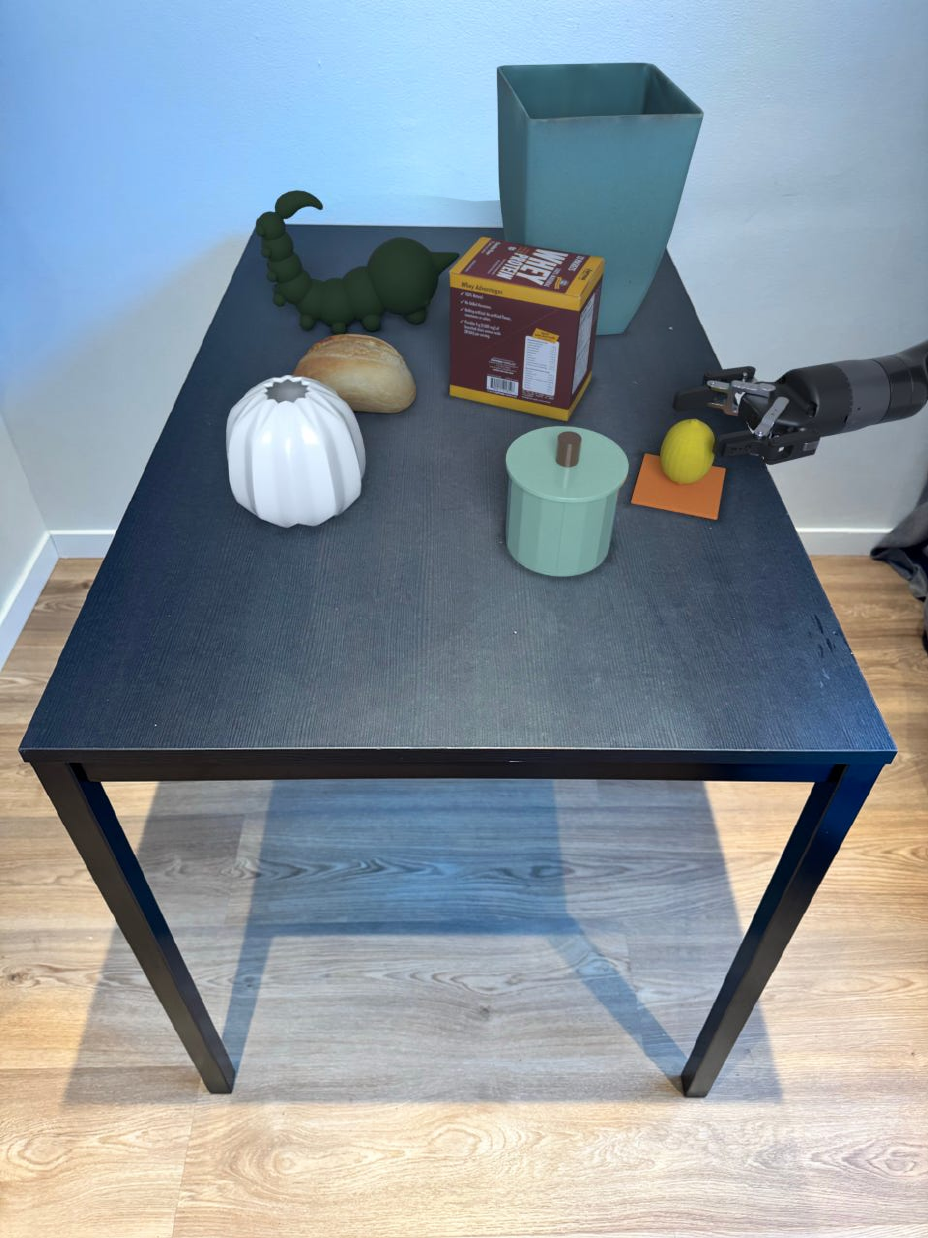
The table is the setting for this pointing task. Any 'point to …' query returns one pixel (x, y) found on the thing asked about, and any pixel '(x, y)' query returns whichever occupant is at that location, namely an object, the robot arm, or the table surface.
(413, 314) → the toy figurine
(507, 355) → the supplement box
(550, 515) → the pot
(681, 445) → the lemon
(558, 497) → the pot lid
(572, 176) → the flower pot
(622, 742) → the table surface
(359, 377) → the bread roll
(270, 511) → the vase
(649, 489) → the orange square coaster
